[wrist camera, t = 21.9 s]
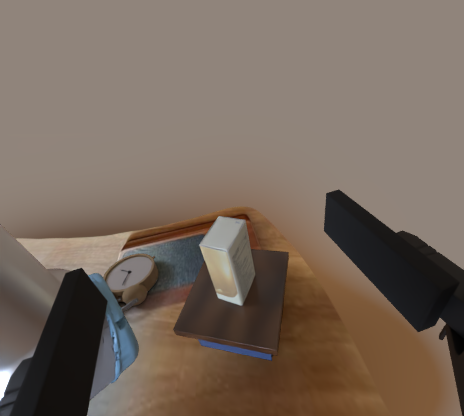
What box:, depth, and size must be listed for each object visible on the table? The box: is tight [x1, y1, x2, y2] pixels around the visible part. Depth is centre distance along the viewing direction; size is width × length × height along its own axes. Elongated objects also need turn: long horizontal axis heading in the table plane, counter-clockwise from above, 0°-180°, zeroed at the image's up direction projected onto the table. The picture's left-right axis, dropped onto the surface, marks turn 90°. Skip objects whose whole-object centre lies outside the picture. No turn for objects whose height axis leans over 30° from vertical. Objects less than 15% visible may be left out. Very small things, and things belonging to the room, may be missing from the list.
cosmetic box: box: [200, 216, 255, 305], centre depth 36 cm, size 6×4×12 cm
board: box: [173, 249, 289, 356], centre depth 40 cm, size 15×17×2 cm
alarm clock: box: [103, 254, 159, 312], centre depth 53 cm, size 11×5×15 cm
